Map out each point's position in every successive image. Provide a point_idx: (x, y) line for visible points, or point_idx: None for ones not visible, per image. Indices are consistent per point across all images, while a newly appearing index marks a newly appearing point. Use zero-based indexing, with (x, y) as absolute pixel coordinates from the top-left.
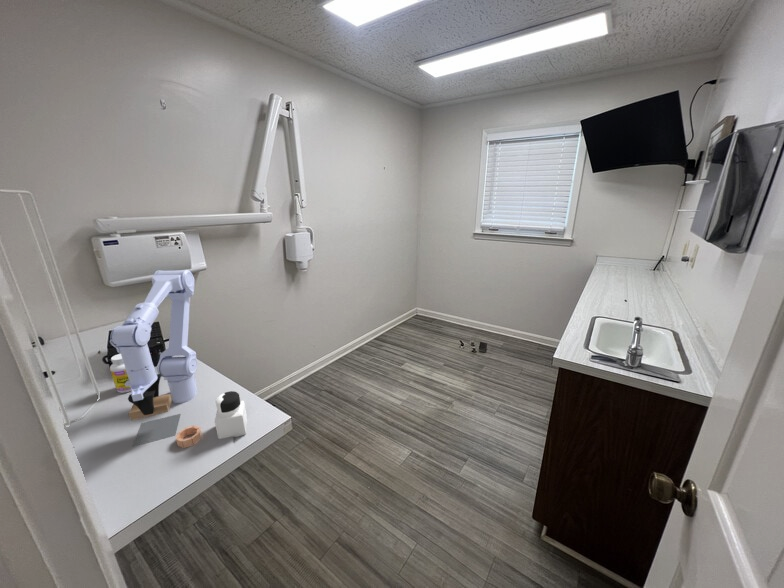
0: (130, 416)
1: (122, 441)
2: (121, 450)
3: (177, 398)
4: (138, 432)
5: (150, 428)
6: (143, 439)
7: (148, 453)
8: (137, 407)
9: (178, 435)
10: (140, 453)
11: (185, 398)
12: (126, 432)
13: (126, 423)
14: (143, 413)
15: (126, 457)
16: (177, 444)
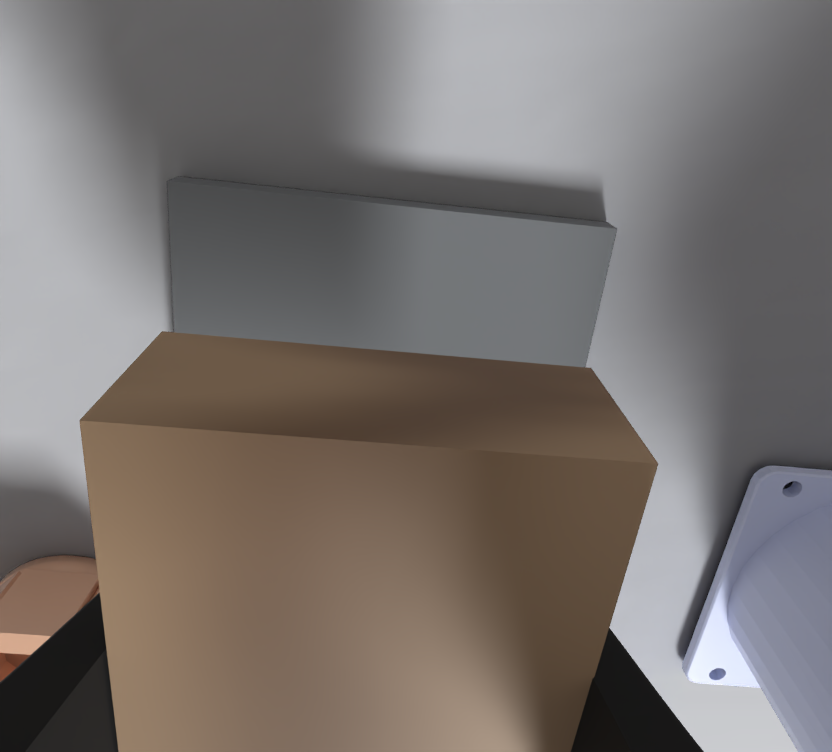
0: (126, 386)
1: (395, 33)
2: (212, 51)
3: (794, 599)
4: (426, 218)
5: (436, 334)
6: (255, 286)
7: (46, 334)
8: (290, 558)
9: (24, 648)
10: (74, 262)
11: (751, 644)
12: (570, 53)
13: (792, 20)
14: (69, 627)
15: (57, 130)
16: (19, 578)
